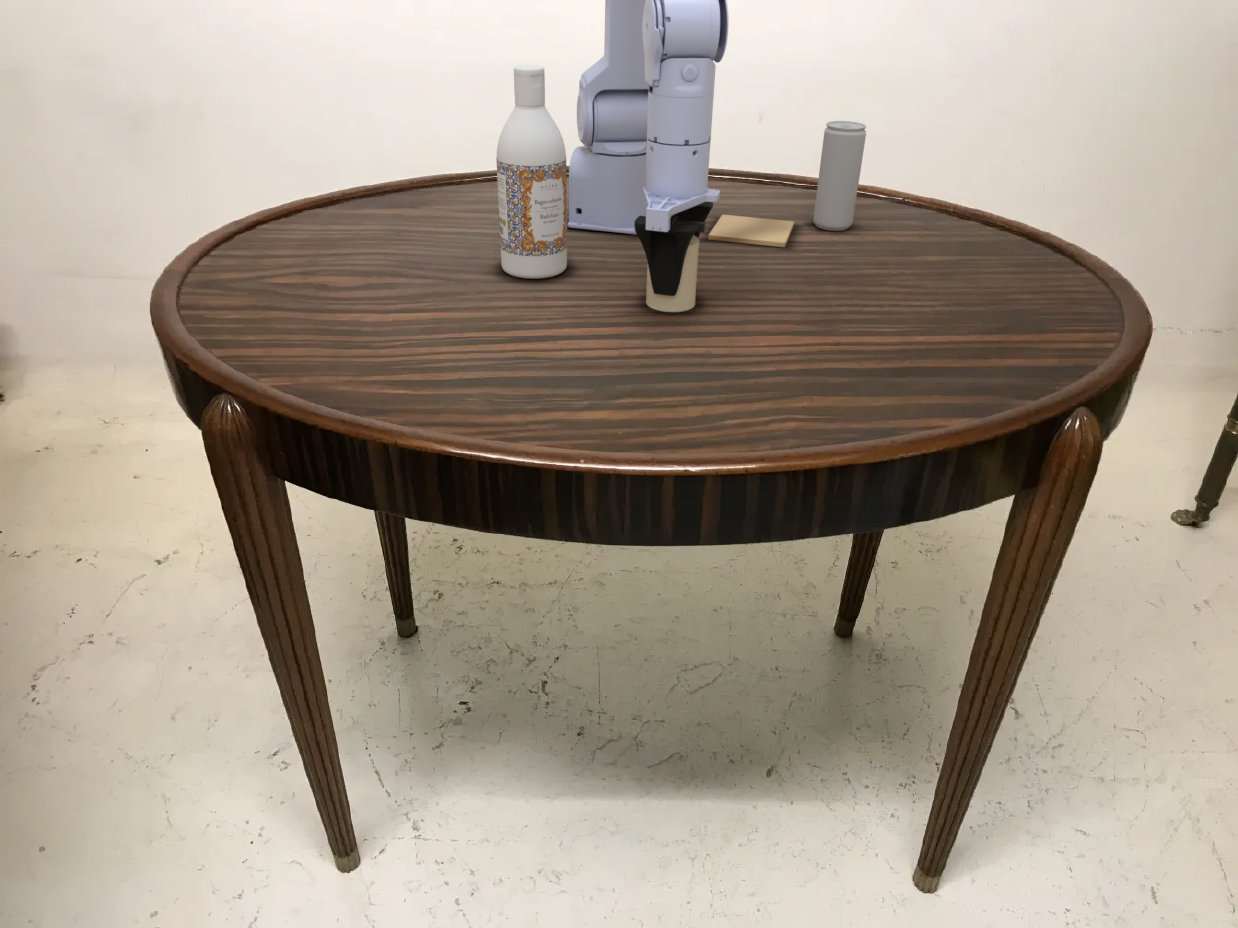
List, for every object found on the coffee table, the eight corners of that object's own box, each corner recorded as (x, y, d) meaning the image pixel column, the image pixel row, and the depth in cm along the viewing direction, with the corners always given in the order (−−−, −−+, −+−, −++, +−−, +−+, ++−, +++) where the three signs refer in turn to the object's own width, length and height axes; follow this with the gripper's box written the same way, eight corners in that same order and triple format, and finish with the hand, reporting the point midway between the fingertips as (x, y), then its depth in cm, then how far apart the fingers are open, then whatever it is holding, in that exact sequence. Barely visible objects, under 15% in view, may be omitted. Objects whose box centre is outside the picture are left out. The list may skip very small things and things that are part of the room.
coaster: (707, 239, 109) (708, 234, 109) (721, 219, 116) (722, 214, 116) (784, 247, 107) (785, 242, 107) (794, 226, 114) (794, 221, 114)
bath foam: (521, 285, 95) (513, 74, 84) (490, 265, 100) (479, 64, 89) (579, 273, 98) (579, 69, 88) (546, 255, 103) (542, 60, 93)
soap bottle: (640, 309, 90) (643, 224, 85) (652, 292, 94) (656, 211, 89) (694, 315, 88) (700, 230, 84) (704, 298, 92) (710, 216, 88)
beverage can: (849, 221, 117) (864, 121, 110) (854, 233, 112) (869, 129, 106) (810, 220, 117) (823, 120, 111) (813, 231, 113) (827, 128, 107)
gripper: (706, 160, 76) (696, 316, 83) (736, 127, 88) (725, 265, 95) (624, 153, 78) (620, 306, 85) (664, 121, 90) (658, 258, 97)
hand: (671, 284), depth 90 cm, fingers closed on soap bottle, 5 cm apart
